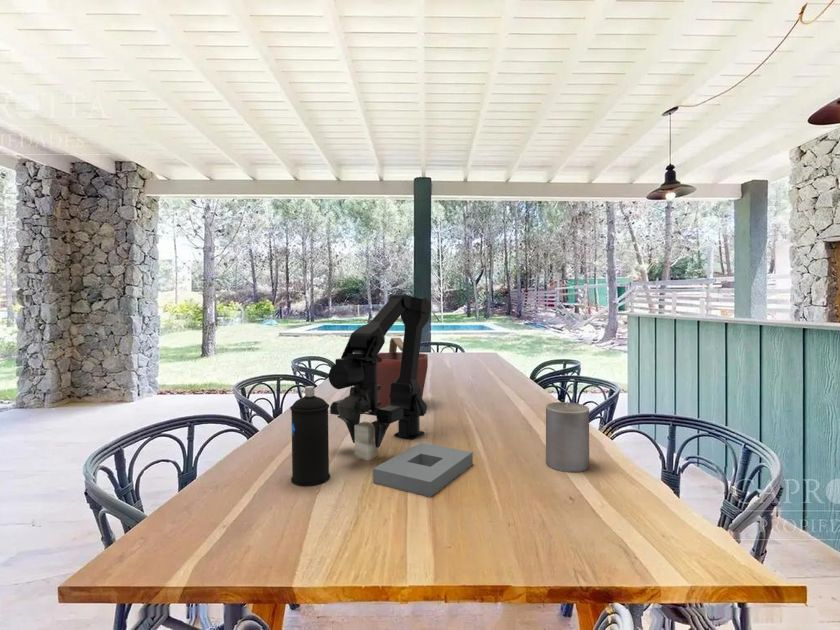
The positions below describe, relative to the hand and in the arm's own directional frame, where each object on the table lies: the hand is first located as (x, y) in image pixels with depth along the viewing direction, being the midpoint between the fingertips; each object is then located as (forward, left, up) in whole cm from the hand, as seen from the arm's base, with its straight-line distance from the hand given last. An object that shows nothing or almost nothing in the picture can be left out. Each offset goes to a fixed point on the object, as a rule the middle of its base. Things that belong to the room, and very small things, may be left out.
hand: (366, 445), depth 111 cm
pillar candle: (-19, +44, -3) cm, 48 cm away
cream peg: (0, 0, -3) cm, 3 cm away
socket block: (+2, +18, -3) cm, 18 cm away
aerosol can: (+17, -2, -3) cm, 17 cm away
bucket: (-45, -21, -3) cm, 50 cm away
